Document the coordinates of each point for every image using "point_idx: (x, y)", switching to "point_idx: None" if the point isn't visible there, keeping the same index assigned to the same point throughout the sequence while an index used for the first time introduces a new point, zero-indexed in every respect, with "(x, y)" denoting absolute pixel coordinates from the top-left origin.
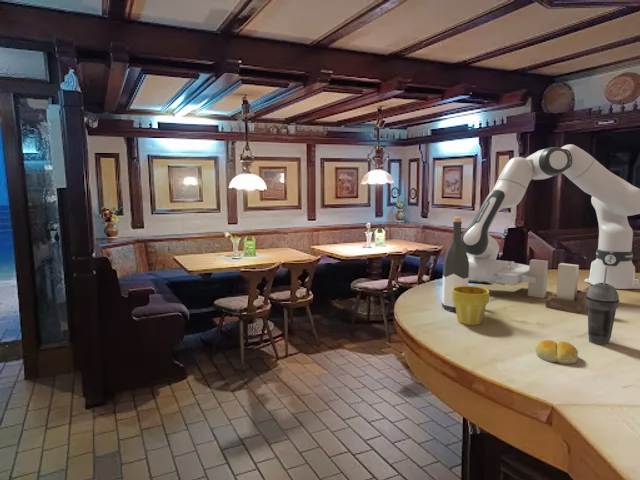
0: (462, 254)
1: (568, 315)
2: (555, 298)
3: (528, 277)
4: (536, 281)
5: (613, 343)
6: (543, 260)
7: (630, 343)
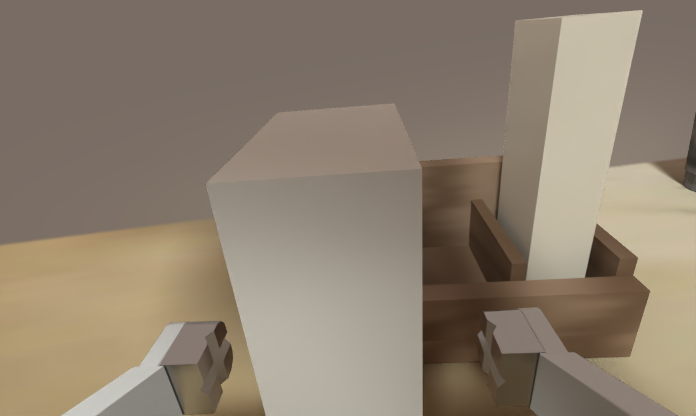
0: None
1: None
2: (617, 244)
3: (591, 374)
4: (481, 348)
5: (673, 177)
6: (274, 124)
7: (622, 169)
